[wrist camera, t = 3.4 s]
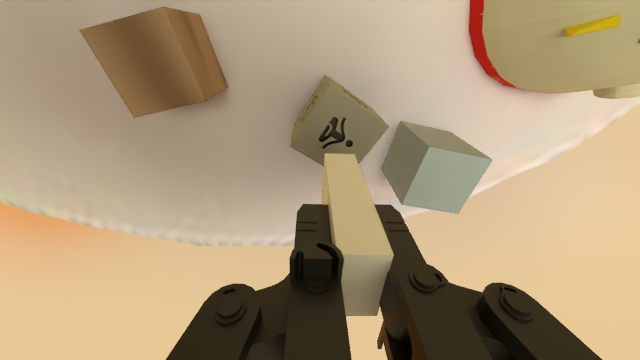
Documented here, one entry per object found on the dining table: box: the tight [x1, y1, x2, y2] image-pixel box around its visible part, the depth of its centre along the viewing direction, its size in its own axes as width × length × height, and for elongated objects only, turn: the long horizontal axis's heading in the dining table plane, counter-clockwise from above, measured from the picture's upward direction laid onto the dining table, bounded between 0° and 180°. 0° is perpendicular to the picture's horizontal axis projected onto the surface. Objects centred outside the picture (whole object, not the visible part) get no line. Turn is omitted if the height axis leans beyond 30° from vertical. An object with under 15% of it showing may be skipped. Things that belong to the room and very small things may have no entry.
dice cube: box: [290, 75, 389, 166], centre depth 19 cm, size 5×5×5 cm
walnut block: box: [80, 7, 228, 118], centre depth 16 cm, size 5×5×5 cm
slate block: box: [382, 121, 492, 214], centre depth 21 cm, size 5×5×6 cm
